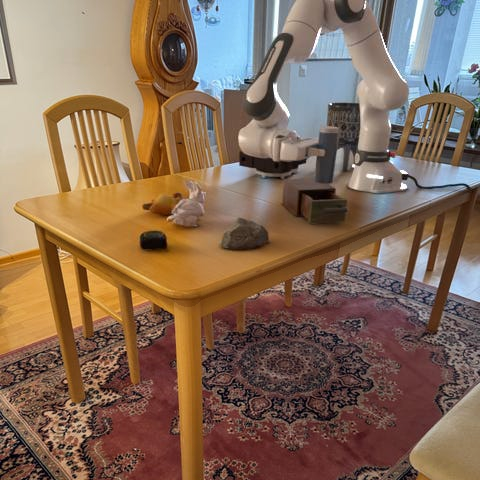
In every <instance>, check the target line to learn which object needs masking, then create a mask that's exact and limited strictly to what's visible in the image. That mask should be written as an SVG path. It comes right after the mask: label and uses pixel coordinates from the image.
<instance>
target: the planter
mask: <svg viewBox="0 0 480 480" xmlns="http://www.w3.org/2000/svg"><path fill="white" fill-rule="evenodd" d="M326 126H332V127H338V128H339V130H338V132H339V138H338V146H337V151H338V150H340V149H342V150H343V159H342V172H348V170H349V169H348V167H349V161H350V154H351V153H352V157H353V165H355V155H356V149H357V148H358V142H359V135H360V104H359V102H330V103H328V104H327V115H326Z"/></svg>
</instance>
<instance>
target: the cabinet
mask: <svg viewBox="0 0 480 480" xmlns="http://www.w3.org/2000/svg"><path fill="white" fill-rule="evenodd" d="M282 188H283V189H282V205H283V206H284V208H286V209H287V210H288V211H290V213H291V214H292V215H294V216H295V217H296V218H299V217H304V216H303V215H302V214H301V213H300V212H299V205H300V193H301V192H317V191H331V192H333V193H334V194H336V191H337V188H336V187H335V186H332V185H331V184H330V183H329V184H323V183H317V182H315V181H314V177H311V178H310V177H308V178H284V179H283V186H282Z"/></svg>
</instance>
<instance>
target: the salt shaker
mask: <svg viewBox="0 0 480 480" xmlns="http://www.w3.org/2000/svg"><path fill="white" fill-rule="evenodd" d="M338 130H339V128H338V127H332V126H327V125H324V126H320V131H319V132H318V138H319V139H318V149H326V155H325V156H316V160H315V169H314V177H313V178H314V181H315V182H317V183H323V184H329V185H330V184H333V183H334V176H335V170H336V169H335V168H336V161H337V152H338V150H337V146H338V138H339V132H338Z"/></svg>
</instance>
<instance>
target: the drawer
mask: <svg viewBox="0 0 480 480" xmlns="http://www.w3.org/2000/svg"><path fill="white" fill-rule="evenodd" d="M347 206H348V199H347V198H342V197H341V196H339V195H338V194H336V193H335V194H334V193H333V192H331V191H317V192H301V193H300V205H299V212H300V213H301V214H302V215H303V216H302V217H304V218H306V219H307V220H308V224H311V225H315V224H329V223H331V224H332V223H345V221H346V214H347V213H348V211H349V208H348V207H347Z"/></svg>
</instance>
